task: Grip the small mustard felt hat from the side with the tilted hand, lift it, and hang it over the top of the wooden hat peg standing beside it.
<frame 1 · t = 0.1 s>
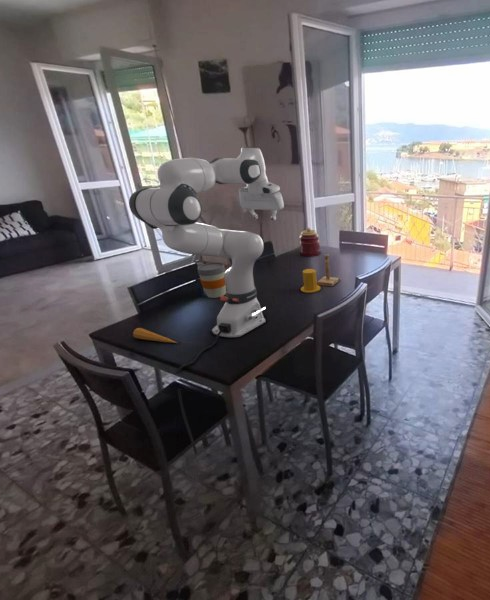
hand: (264, 219, 158), 39 cm above the table, tool pointing down, fingers open, 8 cm apart
hat: (310, 289, 184), on the table
kitchen canister: (310, 253, 241), on the table
reusable coffee cup: (216, 294, 180), on the table
carrot: (157, 341, 139), on the table
hat peg: (328, 282, 192), on the table
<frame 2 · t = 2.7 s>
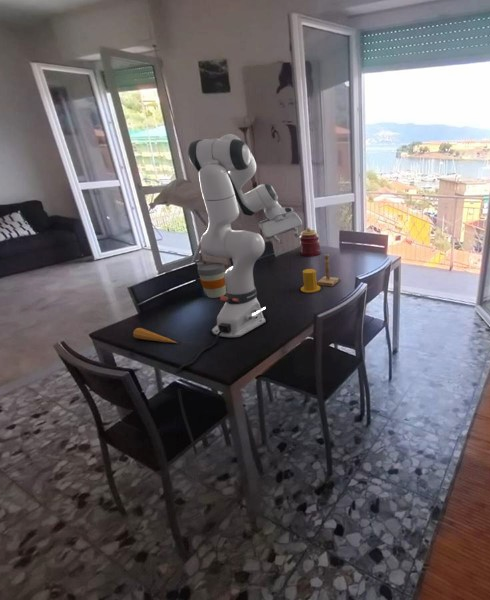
hand: (289, 240, 177), 25 cm above the table, tool tilted 35°, fingers open, 8 cm apart
nothing on the table moved.
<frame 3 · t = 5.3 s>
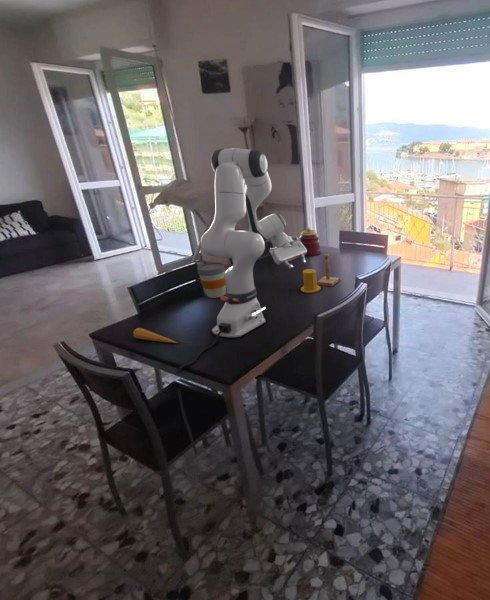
hand: (298, 265, 183), 11 cm above the table, tool tilted 45°, fingers open, 8 cm apart
nothing on the table moved.
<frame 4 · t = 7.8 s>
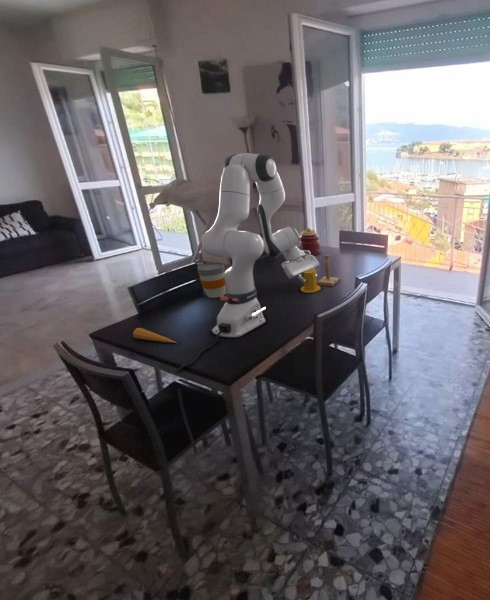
hand: (310, 279, 182), 5 cm above the table, tool tilted 45°, fingers closed on hat, 6 cm apart
hat: (310, 289, 184), on the table, touching gripper
everything else where it was.
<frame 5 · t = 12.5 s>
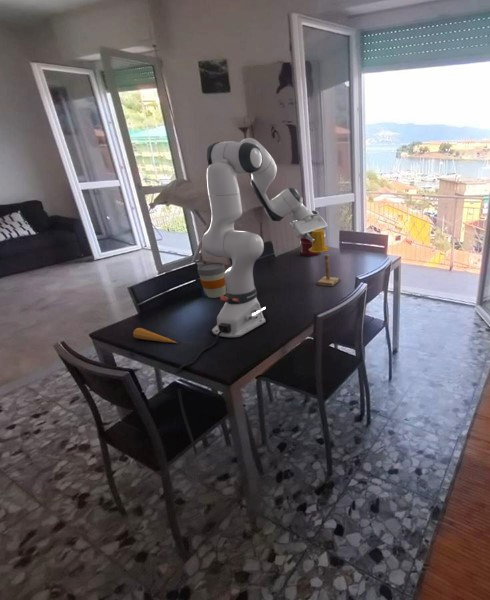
hand: (319, 239, 179), 25 cm above the table, tool tilted 45°, fingers closed on hat, 6 cm apart
hat: (319, 249, 181), point 19 cm above the table, touching gripper
everything else where it was.
when the fingers open (12 cm above the table, at t = 17.1 s): hat stays where it is, resting on hat peg.
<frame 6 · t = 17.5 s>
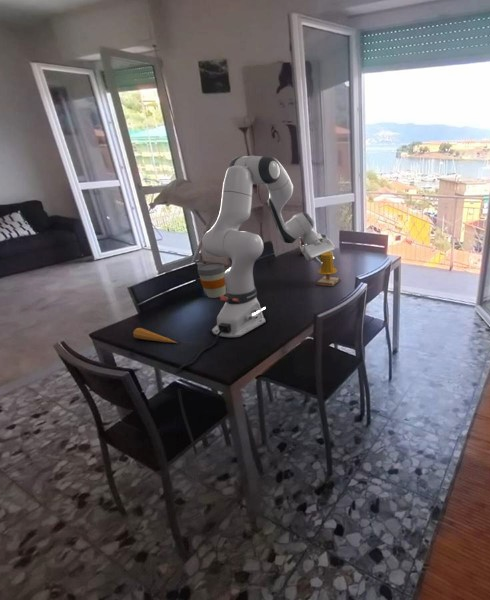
hand: (327, 262, 187), 12 cm above the table, tool tilted 45°, fingers open, 8 cm apart
hat: (327, 271, 189), point 6 cm above the table, touching hat peg
everything else where it was.
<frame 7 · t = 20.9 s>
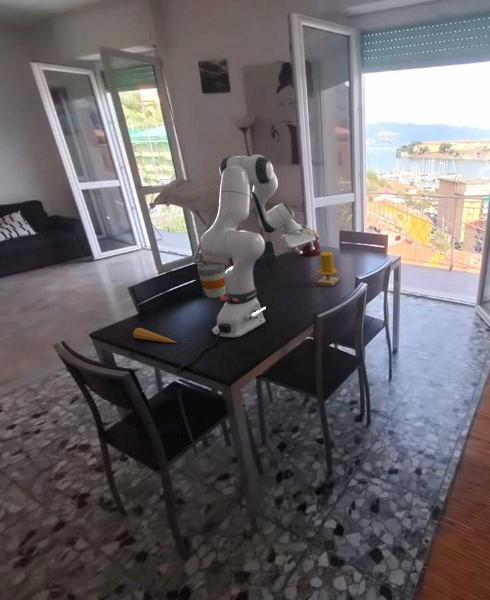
hand: (307, 252, 192), 15 cm above the table, tool tilted 45°, fingers open, 8 cm apart
nothing on the table moved.
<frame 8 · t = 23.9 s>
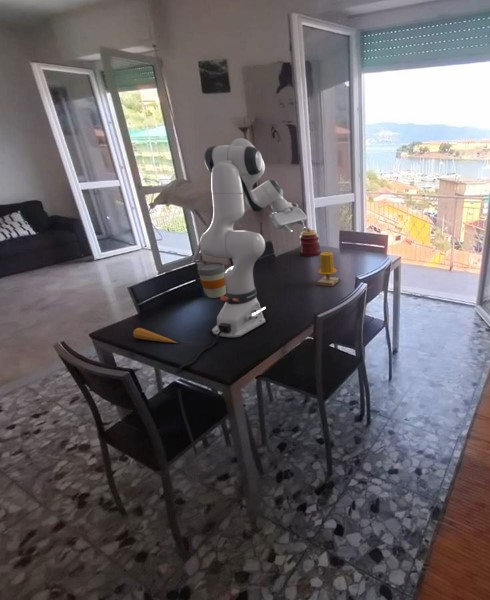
hand: (298, 230, 185), 27 cm above the table, tool tilted 45°, fingers open, 8 cm apart
nothing on the table moved.
at the end: hat 0.0 cm off-centre on the hat peg, point 6.3 cm above the hat peg's base; hat touching hat peg; the gripper is holding nothing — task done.
